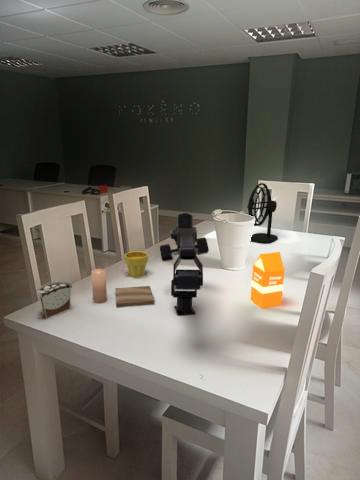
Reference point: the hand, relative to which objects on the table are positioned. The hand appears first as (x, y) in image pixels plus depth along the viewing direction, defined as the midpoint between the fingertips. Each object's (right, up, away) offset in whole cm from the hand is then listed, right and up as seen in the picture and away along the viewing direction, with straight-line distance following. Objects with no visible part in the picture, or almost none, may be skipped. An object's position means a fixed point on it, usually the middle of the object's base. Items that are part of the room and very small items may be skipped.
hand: (183, 254), depth 144 cm
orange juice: (+31, -18, -12) cm, 38 cm away
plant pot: (-21, -10, +14) cm, 27 cm away
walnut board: (-19, -16, -9) cm, 27 cm away
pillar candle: (-32, -17, -12) cm, 38 cm away
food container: (-46, -20, -21) cm, 54 cm away
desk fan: (+50, +7, +76) cm, 91 cm away
